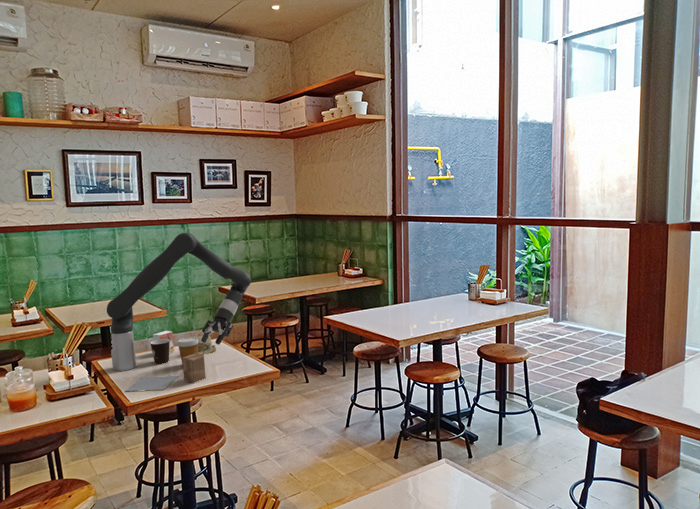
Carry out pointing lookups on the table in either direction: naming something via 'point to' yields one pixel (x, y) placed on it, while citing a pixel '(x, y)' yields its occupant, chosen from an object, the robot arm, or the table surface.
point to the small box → (165, 335)
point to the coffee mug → (160, 350)
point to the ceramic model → (204, 345)
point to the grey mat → (152, 383)
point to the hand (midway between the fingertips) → (209, 342)
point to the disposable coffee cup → (188, 346)
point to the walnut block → (193, 368)
